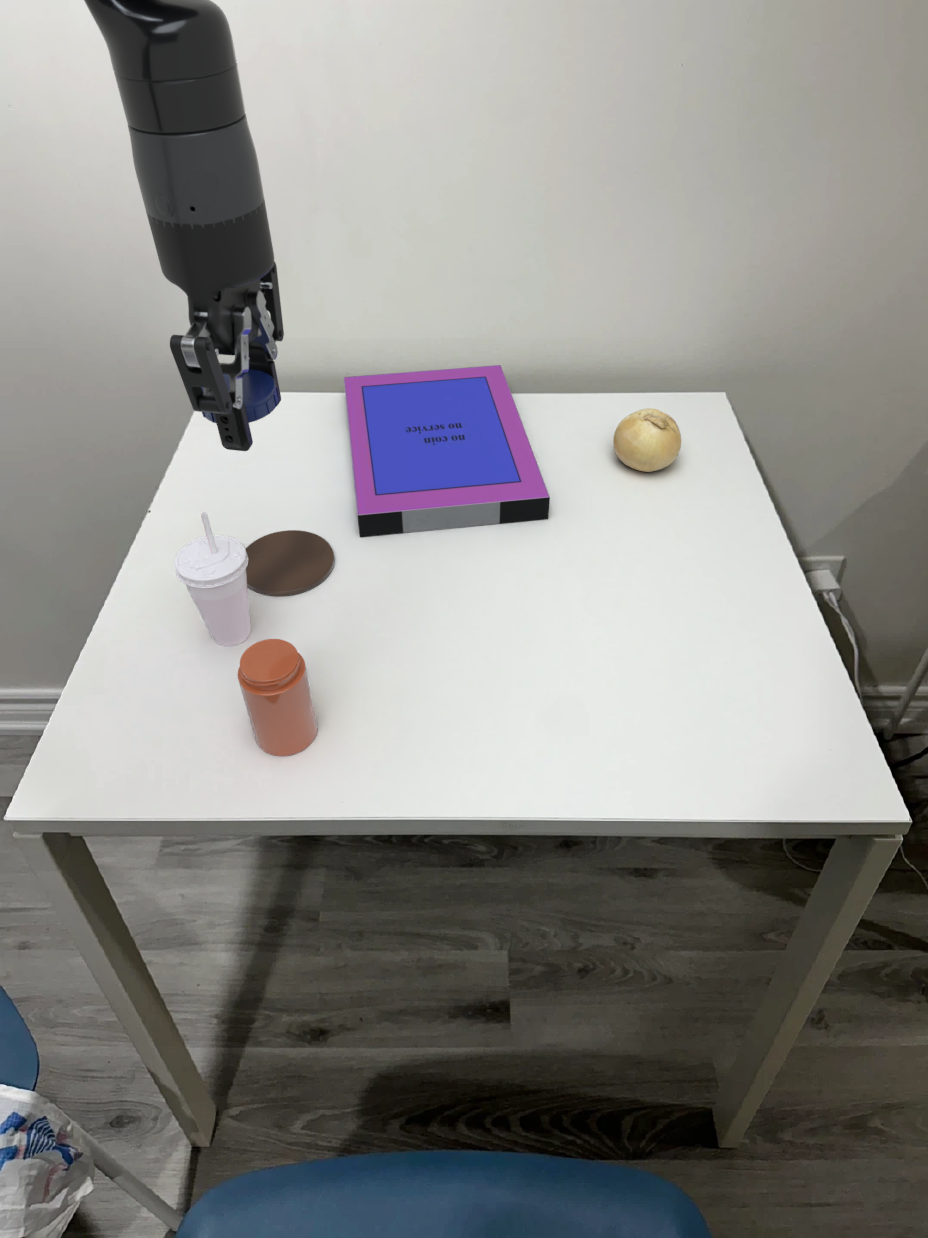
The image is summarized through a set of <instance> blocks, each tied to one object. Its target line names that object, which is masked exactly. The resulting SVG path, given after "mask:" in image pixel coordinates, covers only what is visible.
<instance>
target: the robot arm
mask: <svg viewBox="0 0 928 1238" xmlns="http://www.w3.org/2000/svg"><path fill="white" fill-rule="evenodd" d="M83 1H84V4H85V5H86V7H87V9H88V10H89V13H90V15H91V16H92V19H93V20H94V22H95V24H96V25H97V27H98V30H99V31H100V34H101V35H102V37H103V40H104V42H105V44H106V47H107V50H108V53H109V58H110V62H111V67H112V71H113V75H114V78H115V81H116V84H117V89H118V93H119V97H120V102H121V104H122V108H123V112H124V116H125V120H126V123H127V128H128V134H129V138H130V139H129V140H130V145H131V154H132V160H133V166H134V171H135V175H136V179H137V182H138V186H139V190H140V193H141V198H142V202H143V205H144V209H145V213H146V217H147V219H148V223H149V224H148V225H149V228H150V232H151V235H152V239H153V244H154V246H155V247H154V248H155V250H156V254H157V258H158V261H159V266H160V269H161V272H162V275H163V276H164V278H165V279H166V280H167V281H168V282H169V283H171V284H173V285H174V286H176V287H177V288H179V289H180V290H182V292H184V293H185V295H186V296H187V307H188V322H189V325H190V327H189V329H188V330H187V332H186V333H185V335H184V334H183V335H182V334H172V335H171V336H170V338H169V348H170V351H171V355H172V357H173V359H174V362H175V365H176V368H177V370H178V373H179V376H180V378H181V380H182V383H183V386H184V389H185V391H186V394H187V397H188V400H189V402H190V404H191V408H192V410H193V411H194V412H199V413H202V412H210V413H214V415H215V419H216V423H215V424H216V426H217V427H216V428H217V430H218V435H219V439H220V443H221V445H222V447H223V448H224V449H226V450H229V451H237V452H248V451H249V450H250V449H251V447H252V446H253V443H254V441H253V436H252V432H251V427H250V423H249V422H248V418H247V413H246V409H245V404H244V403H243V376H244V375H245V374H247V373H248V371H249V369H253V370H259V371H262V372H265V373H267V374H269V375H270V376H271V377H272V378H273V379H274V382H275V386H276V387H277V391H278V395H279V398H278V403H277V405H279V404H280V402H281V401H282V396H281V390H280V389H281V388H280V384H279V379H278V374H277V368H276V363H275V361H274V360H276V359H277V357H278V353H279V352H278V346H277V343H276V342H283V340H284V336H285V331H284V322H283V314H282V303H281V293H280V286H279V276H278V267H277V263H276V261H275V252H274V247H273V241H272V235H271V230H270V223H269V218H268V212H267V207H266V206H267V205H266V201H265V193H264V188H263V183H262V177H261V169H260V165H259V160H258V154H257V151H256V147H255V144H254V143H255V142H254V140H253V137H252V133H251V131H250V127H249V123H248V118H247V113H246V107H245V102H244V96H243V95H244V94H243V90H242V84H241V79H240V71H239V67H238V62H237V56H236V50H235V43H234V40H233V35H232V31H231V28H230V23H229V20H228V18H227V17H226V14H225V13H224V11H223V9H221V7H220V6H219V5H218V4H216V3H215V2H213V1H212V0H83ZM219 355H220V356H221V355H222V356H234V360H233V361H231V362H229V361H219V358H218V356H219ZM223 374H227V375H228V376H229V379H230V391H228V388H227V385H226V382H225V379H224V376H223ZM201 387H204V393H203V390H202V388H201Z"/></svg>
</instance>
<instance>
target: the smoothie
mask: <svg viewBox="0 0 928 1238" xmlns="http://www.w3.org/2000/svg"><path fill="white" fill-rule="evenodd" d="M200 517H201V522H202V525H203V529H204V532H205V535H204V536H200V537H198V538H195V539H193V540H191V541H189V542H187V543H186V544H185V545H184V546H182V547H181V548H180V549H179V550H178V551H177V553H176V555H175V557H174V560H173V563H174V569H175V575H176V576H177V578H178V579H179V581H180V582H181V583H183V584H185V585H184V586H185V587H186V589H187V591H188V593H189V594H190V597H191V598H192V600H193V602H194V604H195V606H196V608H197V610H198V612H199V614H200V616H201V618H202V621H203V623H204V625H205V626H206V629H207V631H208V632H209V634H210V636H211V638H212V640H213V642H214V643H215V644H217V645H219V646H221V647H222V646H223V647H233V646H237V645H240V644H242V643H243V642H245V641H246V640H248V638H249V637H250V635H251V631H252V627H251V615H250V603H249V591H248V587H247V578H246V577H247V576H246V567H247V565H248V556H247V553H246V546H245V545H244V543H242V541H240V540H239V539H238V538H236V537H233V536H230V535H224V534H214V533H213V530H212V526H211V523H210V518H209V516H208V512H206V511H204V512H201V513H200Z"/></svg>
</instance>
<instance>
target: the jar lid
mask: <svg viewBox="0 0 928 1238" xmlns="http://www.w3.org/2000/svg"><path fill="white" fill-rule="evenodd" d="M223 376H224V379H225V382H226V385H227V388H228V391H230V379H229V376H228V375H227V374H223ZM201 388H202V390H203V393H204V387H201ZM278 398H279V395H278V391H277V387H276V386H275V382H274V379H273V378H272V377H271V376H270V375H269V374H267V373H265V372H262V371H259V370H253V369H249V371H248V373H247V374H245V375H244V376H243V403H244V404H245V409H246V413H247V418H248V422H249V424H250V423H253V422H258V421H259V420H261V419H264V418H265V417H267V416H269V415H270V414H272V412H273V411H275V409H276V408H277V407H278V405H279V404H278V405H277V403H278ZM201 414H202V416H203V418H205V419H206V420H207V421H209V422H211V423H213V424H217V423H216V419H215V415H214V413H210V412H201Z"/></svg>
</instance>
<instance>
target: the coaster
mask: <svg viewBox="0 0 928 1238" xmlns="http://www.w3.org/2000/svg"><path fill="white" fill-rule="evenodd" d="M245 549H246V553H247V556H248V565H247V567H246V576H247V577H246V578H247V588H249V589H250V590H252V591H253V592H256V593H259V594H261V595H264V596H270V597H287V596H294V595H300V594H302V593H305V592H308V591H310V590H312V589H314V588H316V587H318V586H319V585H321V584H322V583H323V582H324V581H325V580H326V579H327V578H328V577H329V576H330V574H331V573H332V571H333V569H334V566H335V552H334V550H333V547H332V546H331V544H330V543H329V542H328V540H326V539H325V538H324V537H322V536H321V535H318V534H316V533H313V532H310V531H306V530H299V529H298V530H297V529H289V530H280V531H275V532H271V533H268V534H265V535H263V536H261V537H259V538H257V539H256V540H254V541H252V542H251V543H250V544H249V545H247V546H246V547H245Z"/></svg>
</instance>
